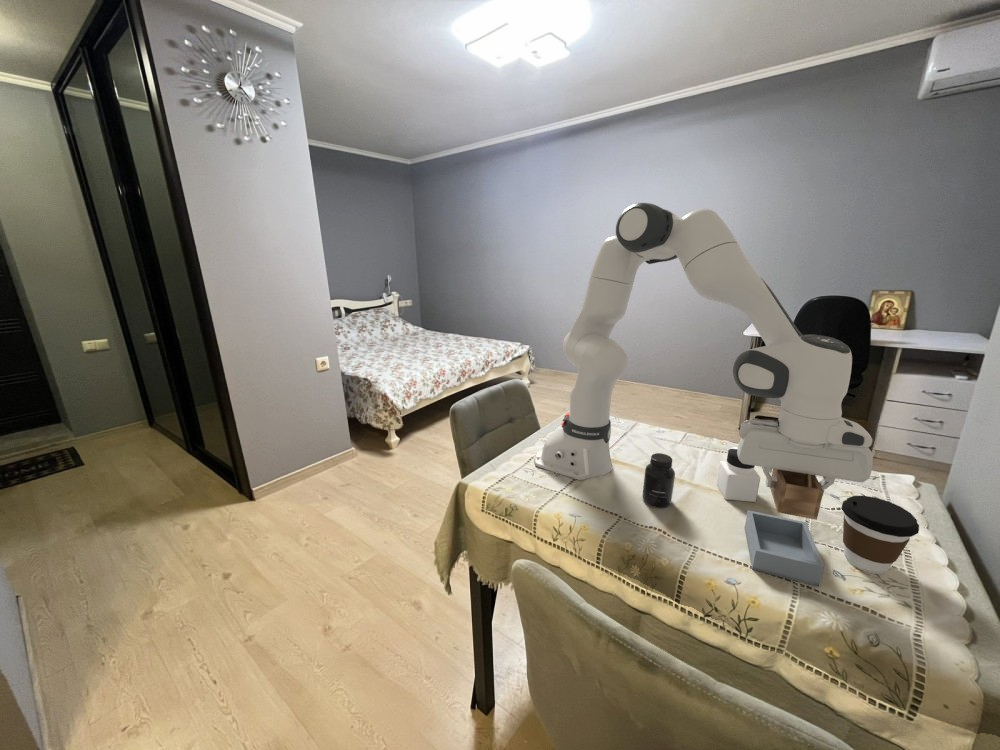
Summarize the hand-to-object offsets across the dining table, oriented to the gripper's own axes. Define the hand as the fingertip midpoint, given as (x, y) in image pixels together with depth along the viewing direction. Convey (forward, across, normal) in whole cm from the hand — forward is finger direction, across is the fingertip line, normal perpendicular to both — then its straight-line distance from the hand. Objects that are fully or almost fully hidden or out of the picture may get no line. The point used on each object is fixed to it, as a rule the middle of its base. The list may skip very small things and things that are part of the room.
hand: (793, 490), depth 78 cm
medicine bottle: (+15, -6, +21) cm, 26 cm away
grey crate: (+15, 0, 0) cm, 15 cm away
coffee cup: (+15, +15, +3) cm, 21 cm away
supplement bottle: (+15, -24, +10) cm, 30 cm away
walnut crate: (+2, 0, -1) cm, 2 cm away
